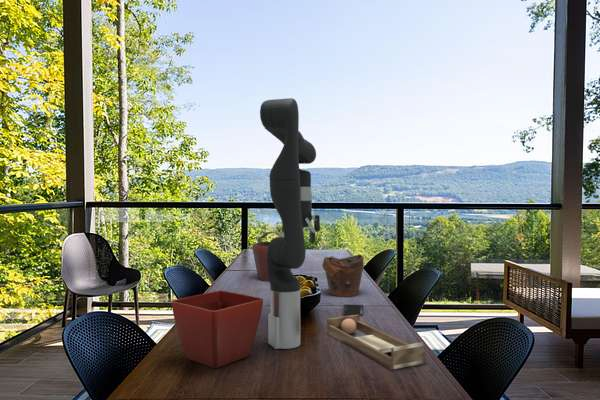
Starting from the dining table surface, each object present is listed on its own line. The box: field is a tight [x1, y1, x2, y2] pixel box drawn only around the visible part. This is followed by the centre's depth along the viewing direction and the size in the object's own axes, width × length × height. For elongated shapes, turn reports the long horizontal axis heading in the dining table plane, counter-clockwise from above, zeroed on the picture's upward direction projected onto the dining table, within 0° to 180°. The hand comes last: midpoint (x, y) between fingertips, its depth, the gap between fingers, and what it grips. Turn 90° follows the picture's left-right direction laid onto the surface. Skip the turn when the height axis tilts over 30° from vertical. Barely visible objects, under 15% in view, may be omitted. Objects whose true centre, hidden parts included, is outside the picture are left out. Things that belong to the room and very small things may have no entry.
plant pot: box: [171, 290, 264, 369], centre depth 137 cm, size 19×19×17 cm
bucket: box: [252, 230, 292, 282], centre depth 255 cm, size 24×22×25 cm
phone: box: [342, 303, 364, 318], centre depth 189 cm, size 8×1×15 cm
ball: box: [341, 319, 356, 334], centre depth 159 cm, size 5×5×5 cm
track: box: [326, 315, 427, 371], centre depth 146 cm, size 12×35×6 cm, turn 25°
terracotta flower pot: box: [322, 254, 365, 298], centre depth 219 cm, size 18×20×18 cm
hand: (301, 243), depth 175 cm, fingers open, 8 cm apart
